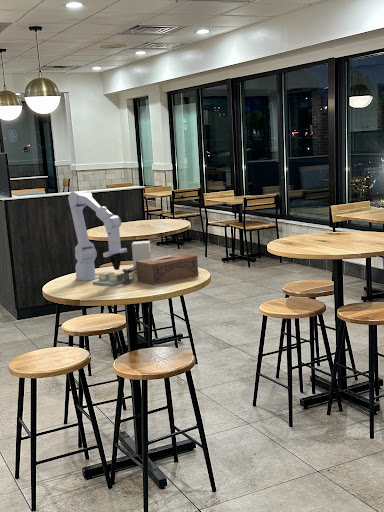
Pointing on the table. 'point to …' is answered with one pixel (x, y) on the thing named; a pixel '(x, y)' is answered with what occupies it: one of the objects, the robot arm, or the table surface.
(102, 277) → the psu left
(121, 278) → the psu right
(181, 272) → the tissue box cover
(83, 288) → the table surface
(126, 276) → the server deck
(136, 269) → the swing bar
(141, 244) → the supplement box
